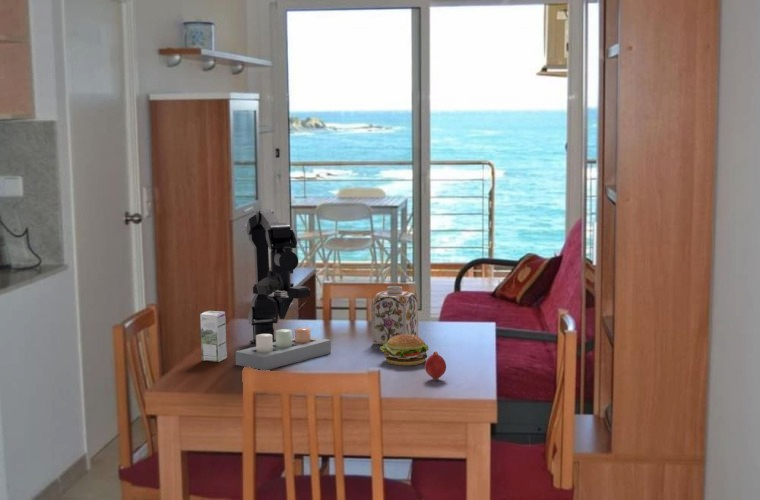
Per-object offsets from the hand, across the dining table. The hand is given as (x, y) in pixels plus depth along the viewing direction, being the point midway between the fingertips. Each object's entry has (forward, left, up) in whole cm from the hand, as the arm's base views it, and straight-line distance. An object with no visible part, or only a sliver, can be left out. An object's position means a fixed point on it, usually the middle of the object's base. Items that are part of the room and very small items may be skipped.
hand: (282, 318), depth 305 cm
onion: (+51, +9, -13) cm, 53 cm away
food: (+31, +20, -13) cm, 39 cm away
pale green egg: (0, +1, -10) cm, 10 cm away
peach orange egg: (0, +9, -11) cm, 14 cm away
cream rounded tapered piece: (0, -7, -10) cm, 13 cm away
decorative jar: (+12, +39, -13) cm, 43 cm away
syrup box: (-17, -13, -13) cm, 24 cm away
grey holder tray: (0, +1, -12) cm, 12 cm away
